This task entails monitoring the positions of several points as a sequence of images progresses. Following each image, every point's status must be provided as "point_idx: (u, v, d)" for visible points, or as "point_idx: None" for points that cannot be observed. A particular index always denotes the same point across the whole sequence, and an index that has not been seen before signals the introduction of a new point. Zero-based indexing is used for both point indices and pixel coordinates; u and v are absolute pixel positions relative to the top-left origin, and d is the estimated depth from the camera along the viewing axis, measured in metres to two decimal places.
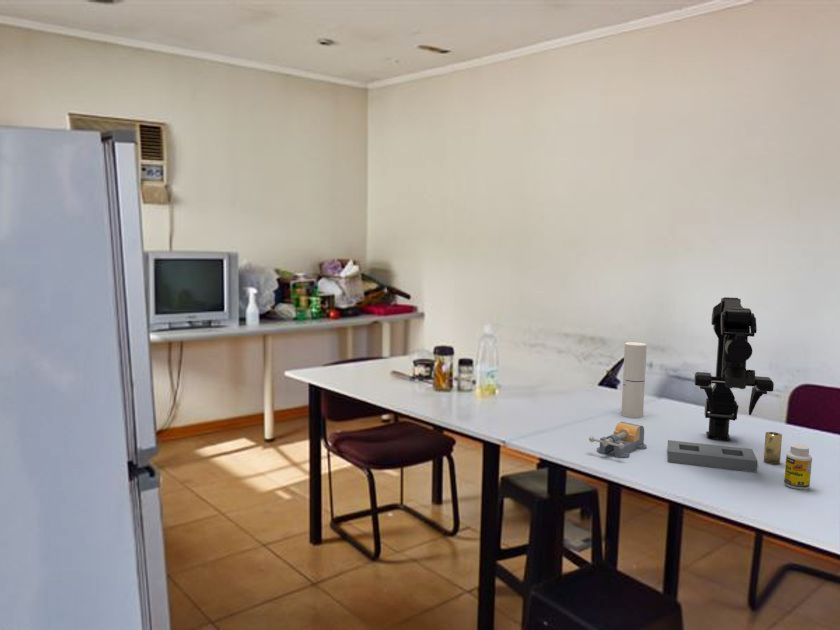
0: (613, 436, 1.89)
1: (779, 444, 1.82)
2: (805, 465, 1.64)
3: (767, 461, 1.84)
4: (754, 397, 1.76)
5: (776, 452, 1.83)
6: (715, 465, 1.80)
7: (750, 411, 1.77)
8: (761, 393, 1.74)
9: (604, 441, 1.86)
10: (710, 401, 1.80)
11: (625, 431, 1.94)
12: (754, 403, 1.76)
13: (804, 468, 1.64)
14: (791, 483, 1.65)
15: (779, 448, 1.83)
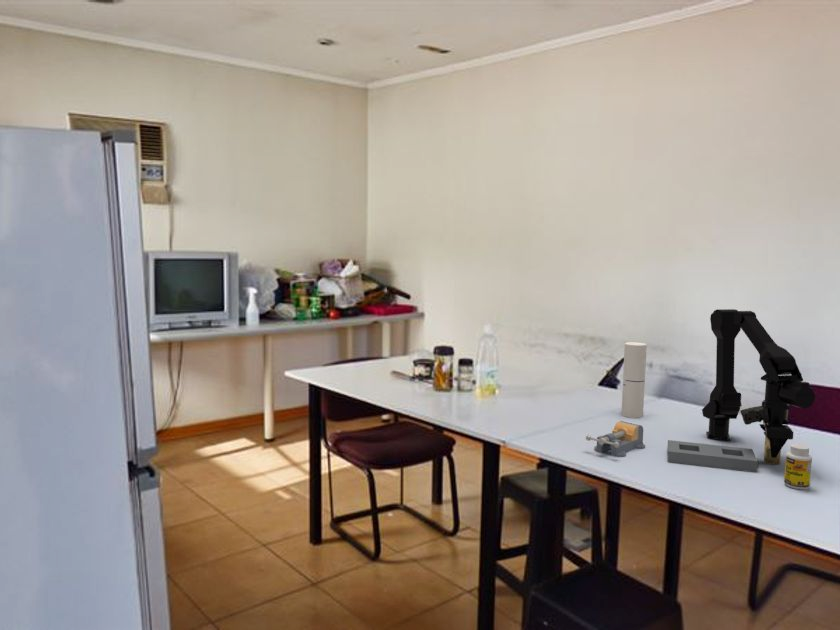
0: (610, 435, 1.90)
1: None
2: (805, 465, 1.64)
3: (767, 461, 1.84)
4: (769, 439, 1.82)
5: None
6: (715, 465, 1.80)
7: (771, 453, 1.83)
8: (765, 434, 1.81)
9: (600, 440, 1.88)
10: None
11: (623, 430, 1.95)
12: (770, 445, 1.82)
13: (804, 468, 1.64)
14: (791, 483, 1.65)
15: None
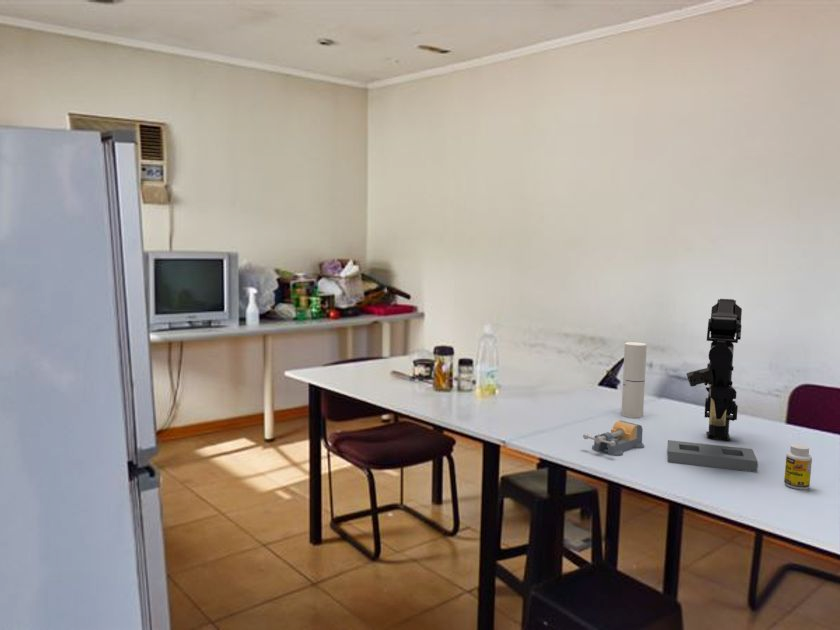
0: (607, 434, 1.91)
1: None
2: (805, 465, 1.64)
3: (712, 423, 1.84)
4: None
5: None
6: (715, 465, 1.80)
7: None
8: (709, 396, 1.81)
9: (597, 438, 1.89)
10: None
11: (621, 430, 1.96)
12: None
13: (804, 468, 1.64)
14: (791, 483, 1.65)
15: None
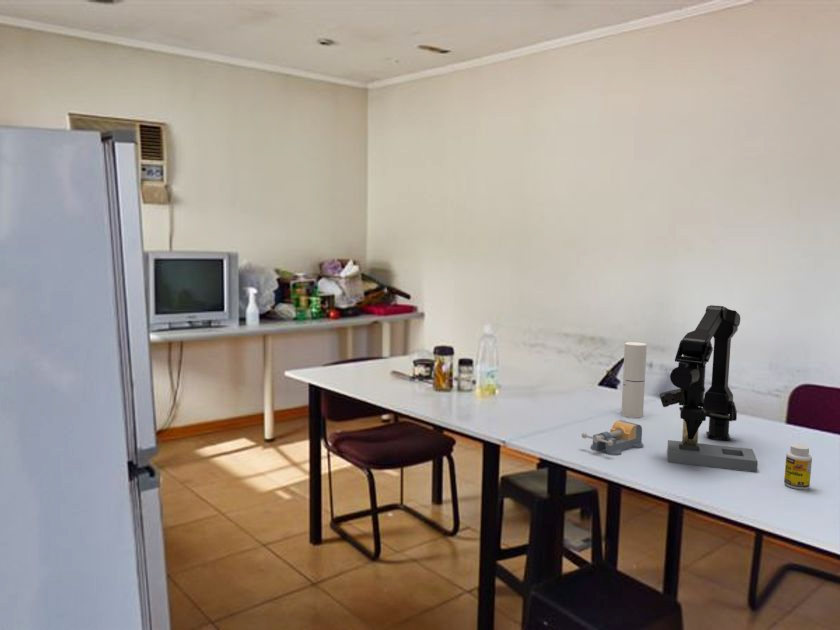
0: (605, 433, 1.91)
1: None
2: (805, 465, 1.64)
3: (685, 443, 1.86)
4: None
5: None
6: (715, 465, 1.80)
7: None
8: None
9: (594, 437, 1.90)
10: None
11: (621, 429, 1.96)
12: None
13: (804, 468, 1.64)
14: (791, 483, 1.65)
15: None
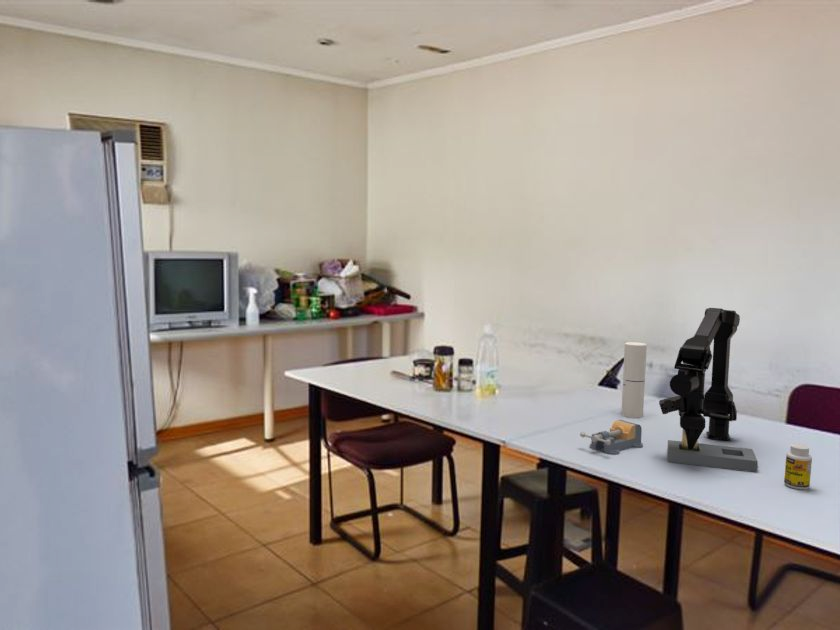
0: (603, 432, 1.92)
1: None
2: (805, 465, 1.64)
3: None
4: None
5: (692, 449, 1.85)
6: (715, 465, 1.80)
7: None
8: None
9: (593, 437, 1.90)
10: None
11: (620, 429, 1.97)
12: (686, 437, 1.82)
13: (804, 468, 1.64)
14: (791, 483, 1.65)
15: (695, 444, 1.85)
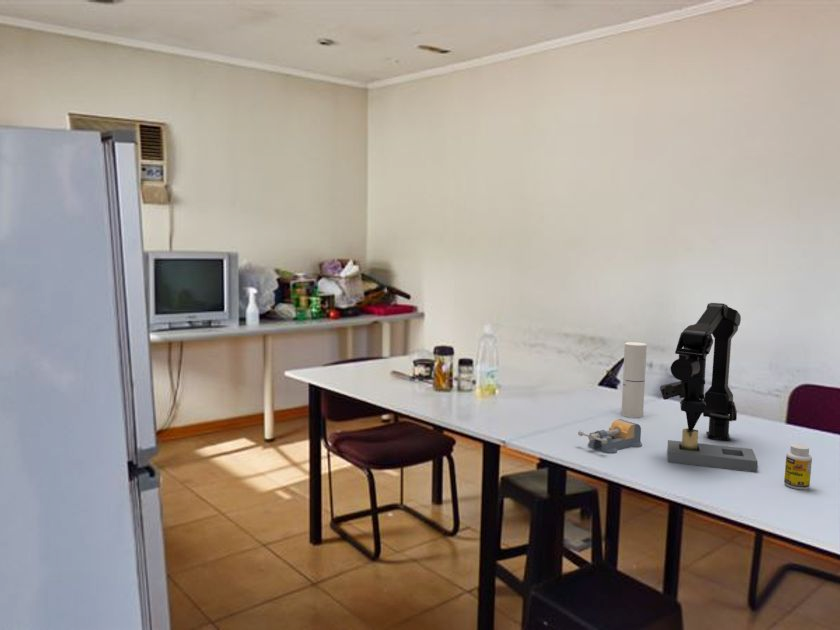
0: (601, 431, 1.93)
1: (695, 440, 1.85)
2: (805, 465, 1.64)
3: None
4: None
5: (692, 449, 1.85)
6: (715, 465, 1.80)
7: None
8: None
9: (590, 435, 1.92)
10: None
11: (618, 428, 1.97)
12: None
13: (804, 468, 1.64)
14: (791, 483, 1.65)
15: (695, 444, 1.85)
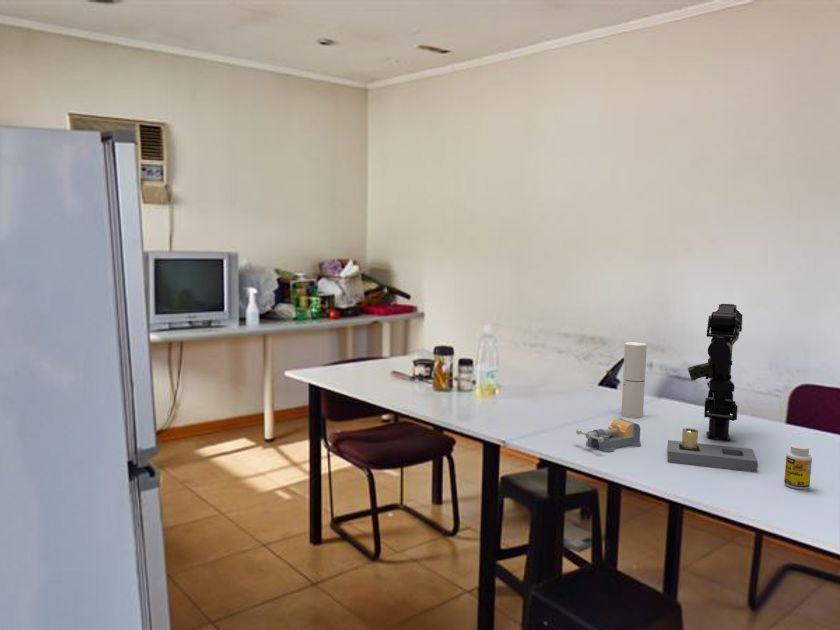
0: (599, 430, 1.94)
1: (695, 440, 1.85)
2: (805, 465, 1.64)
3: None
4: None
5: (692, 449, 1.85)
6: (715, 465, 1.80)
7: (715, 405, 1.94)
8: (708, 387, 1.92)
9: (587, 434, 1.93)
10: None
11: (617, 427, 1.98)
12: (713, 398, 1.93)
13: (804, 468, 1.64)
14: (791, 483, 1.65)
15: (695, 444, 1.85)
